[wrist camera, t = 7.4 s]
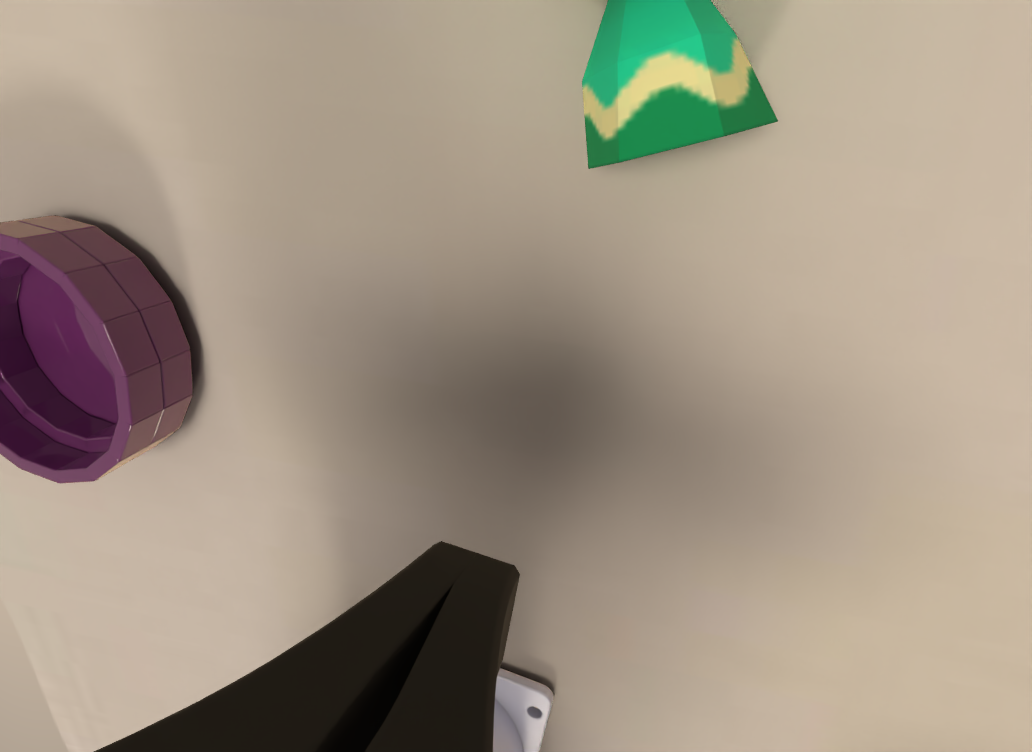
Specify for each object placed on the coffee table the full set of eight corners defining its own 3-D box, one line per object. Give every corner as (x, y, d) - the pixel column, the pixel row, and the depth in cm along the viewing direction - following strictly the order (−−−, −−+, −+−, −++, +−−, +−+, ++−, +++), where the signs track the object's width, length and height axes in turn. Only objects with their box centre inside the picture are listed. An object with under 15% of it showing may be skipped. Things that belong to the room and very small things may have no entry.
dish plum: (209, 468, 23) (140, 514, 20) (30, 407, 24) (-55, 441, 22) (198, 246, 19) (114, 265, 17) (-9, 192, 21) (-115, 201, 18)
